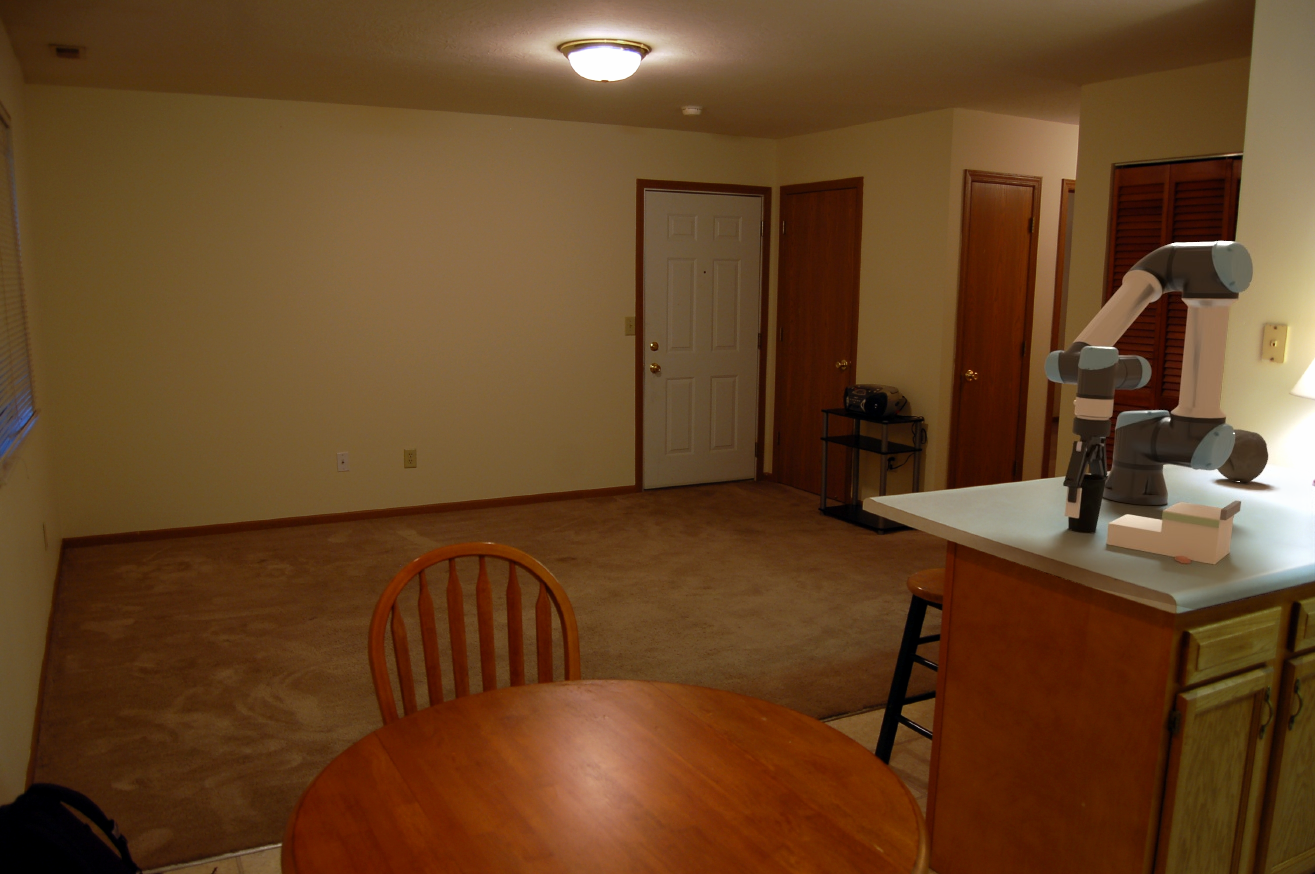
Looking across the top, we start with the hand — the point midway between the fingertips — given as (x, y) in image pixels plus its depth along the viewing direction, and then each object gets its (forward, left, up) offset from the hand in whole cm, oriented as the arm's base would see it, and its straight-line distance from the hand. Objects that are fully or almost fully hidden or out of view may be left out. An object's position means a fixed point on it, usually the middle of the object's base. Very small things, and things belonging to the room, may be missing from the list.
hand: (1082, 512), depth 205 cm
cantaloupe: (-94, +11, -4) cm, 95 cm away
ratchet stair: (+5, +19, -4) cm, 20 cm away
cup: (0, 0, -4) cm, 4 cm away
